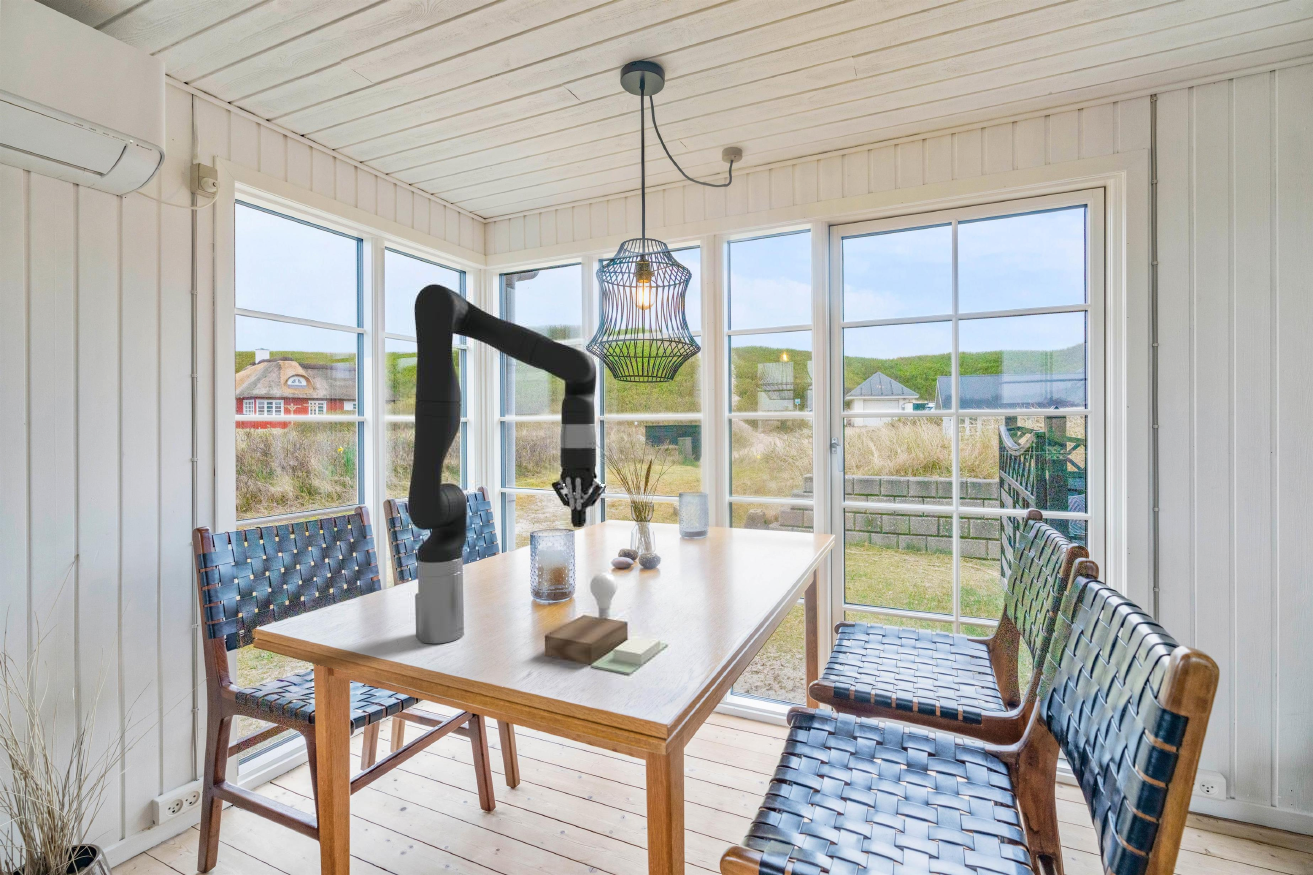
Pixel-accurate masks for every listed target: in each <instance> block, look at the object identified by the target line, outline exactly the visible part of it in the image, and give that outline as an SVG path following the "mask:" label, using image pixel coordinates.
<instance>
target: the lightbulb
mask: <svg viewBox="0 0 1313 875" xmlns="http://www.w3.org/2000/svg"><path fill="white" fill-rule="evenodd" d="M592 577H593V578H592V579H591V581H590V586H589V587H590V588H589V590H590V592H591V594H592V596H593V597H594V599H595V601H596V605H597V609H598V613H597V614H598V616H597V617H599V618H606V619H610V617H611V614H610V612H611V611H610V610H611V607H610V606H611V605H612V600H613V598H614V596H615V595H616V593H617V591H618V582H617V579H616V578H615V576H614V575H613V574H611V573H609V572H605V571H604V572H603V571H602V572H599V573H597V574H595V575H594V576H592Z"/></svg>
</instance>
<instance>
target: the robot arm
mask: <svg viewBox="0 0 1313 875" xmlns="http://www.w3.org/2000/svg"><path fill="white" fill-rule="evenodd" d="M413 309H414V311H413V312H414V322H415V334H416V351H417V356H416V357H417V358H416V374H415V375H416V382H415V383H416V384H415V387H416V388H415V402H414V403H415V404H414V443H413V444H414V445H413V446H414V447H413V460H412V468H411V469H412V470H411V475H410V481H409V482H410V484H409V491H408V497H407V498H408V499H407V508H408V516H409V519H410V521H411V522H412V524H413V525H414V527H415V528H417V529H419V530H423V531H426V530H427V531H428V530H431V532H430V534H429V535H428V537H427V538H426V539H425V540H424V541H423V542H422V543H421V544H420V545H419V546H418V547H417V551H416V553H417V555H416V556H417V587H418V588H417V589H418V590H417V591H418V592H416V594H414V600H415V602H414V605H415V606H414V608H415V610H414V611H415V613H414V614H415V638H417V639H418V640H419V641H420V642H421V643H424V644H425V643H426V644H433V645H434V644H435V645H436V644H444V643H448V642H453V641H456V640H459V639H460V638H462V637H463V636H464V635H465V620H464V617H465V615H464V614H465V613H464V612H465V610H464V608H465V607H464V568H463V567H464V564H463V562H464V561H463V551H464V550H463V549H464V547H465V544H466V540H467V525H468V524H467V523H468V520H467V519H468V518H467V517H468V508H467V506H468V505H467V499H466V496H465V493H464V491H463V490H462V488H461V487H460V486H459V485H457V484H455V483H453V482H451V483H450V482H448V483H445V482H444V483H442V474H443V467H444V463H445V459H446V457H447V454H448V452H449V450H450V448H451V446H452V445H453V443H454V440H455V438H456V436H457V434H458V433H459V429H460V424H461V419H462V418H461V416H462V413H461V412H462V390H461V387H460V381H459V377H458V374H457V369H456V366H455V363H454V358H453V356H454V355H453V340H454V335H457V336H458V335H459V336H462V337H466V338H470V339H474V340H476V341H479V342H481V343H483V344H486V345H488V346H489V347H491V348H494V349H495V350H497V351H499V352H500V353H503V354H505V355H506V356H507V357H510V358H512V359H514V360H517V361H519V362H521V363H523V364H526V365H528V366H529V367H532V368H536V369H538V370H541V371H542V370H543V371H544V372H546V373H549V375H550V374H551V375H553V376H554V377H556V378H559V379H560V380H563V381H564V397H563V400H562V402H561V409H560V410H561V411H560V412H561V419H560V420H561V429H560V437H559V438H560V440H559V441H560V449H559V450H560V467H561V472H560V474H559V475H560V478H559V479H558V480H557V481H554V482H552V483H551V487H552V489H553V490H554V493H555V494H556V496H557V497H558V498H559V500H560V502H561V503H562V505H563V506H565V507H569V509H570V522H571V524H572V527H574V528H582V527H584V526H585V524H586V523H587V509H588V508H590V507H594V506H595V504H596V503H597V502H598V500H599V499H600V497H601V496H602V494H603V493H604V491H605V490H606V489H607V485H606V484H605V483H602V482H600V480H598V475H597V473H596V466H597V435H596V427H595V426H596V424H595V415H596V414H595V413H596V412H595V396H596V387H597V386H596V385H597V367H596V366H597V365H596V363H595V361H594V359H593V358H592V357H591V356H590V355H589V354H587V353H585V351H582V350H580V349H577V348H574V347H572V346H569V345H566V344H563V343H561V342H558V341H555V340H553V339H551V338H549V337H548V336H546V335H544V334H542V333H539V332H537V331H534V330H532V329H530V328H527V327H524V326H522V325H520V324H516V323H514V322H511V321H507V320H505V319H502V318H500V317H497V316H494V315H492V314H489V313H488V312H486V311H484V310H482V309H481V308H479V307H478V306H476V305H475V304H473V303H471V302H470V301H468V300H467V299H465V298H464V297H463V296H462V295H461V294H460V293H459V292H456V291H454V290H452V289H450V288H449V287H446V286H443V285H441V284H438V283H432V284H428V285H426V286H425V287H423V288H422V289H420V291H419V292H418V294H417V295H416V298H415V300H414V308H413ZM591 490H592V491H591ZM590 491H591V492H590Z"/></svg>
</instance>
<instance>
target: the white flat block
mask: <svg viewBox="0 0 1313 875" xmlns="http://www.w3.org/2000/svg"><path fill="white" fill-rule="evenodd" d="M660 642H661V640H659V639H654V638H649V637H645V636H644V637H642V636H636V635H633V636H631V637H629V638H628V640H627V641H625V642H624V643H622V644H621V645H619V646H618V647H616V648H615V649H614V659H615V660H620V661H625V662H631V663H636V664H643V663H644V662H645V661H646V660H648V659H649V658H650V657H652V656H653V655H654V654H656V653H657V652H658V651H659V650H660Z"/></svg>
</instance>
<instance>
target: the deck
mask: <svg viewBox="0 0 1313 875" xmlns="http://www.w3.org/2000/svg"><path fill="white" fill-rule="evenodd" d="M628 633H629V632H628V621H623V620H618V619H611V618H607V619H606V618H599V617H598V616H591V615H586V614H583V615H581V616H579V617H577V618H576V619H574V620H571V621H570V622H568V623H566V624H564V625H562V626H560V627H558V628H556V629H554V630H552V631H551V632H548V633H547V634H544V656H547V657H552V658H556V659H557V658H558V659H562V660H567V661H571V662H577V663H580V664H581V663H583V664H588V665H590V666H591V665H592V664H593V663H595V662H596V661H598V660H599V659H601V658H602V657H604V656H605V655H607V654H608V653H610V652H611V651H613V650H614V649H615V648H616V647H618V646H619V645H621V644H622V643H624V642H625V641H627V640H628V639H629V637H628V636H629V635H628Z"/></svg>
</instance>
